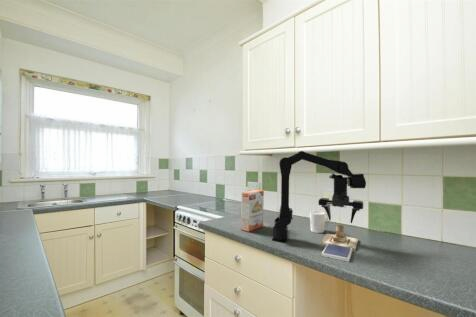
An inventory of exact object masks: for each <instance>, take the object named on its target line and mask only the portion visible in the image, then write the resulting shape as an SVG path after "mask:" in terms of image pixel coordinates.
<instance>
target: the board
mask: <svg viewBox="0 0 476 317" xmlns="http://www.w3.org/2000/svg"><path fill="white" fill-rule="evenodd" d="M334 235H335V234H332V233H326V234H325V236H324V237H323V238H322V240H321V242H320V245H321V246H323V245H324V246H326V245H327V244H333V245H338V246H343V247H349V248H352V251H356V250H357V247H358V246H357V245H358V242H359V239H358V238H355V237H349V236H346V241H345V243H342V242H337V241H334V240H333V236H334Z"/></svg>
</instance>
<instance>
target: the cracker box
mask: <svg viewBox="0 0 476 317" xmlns="http://www.w3.org/2000/svg"><path fill="white" fill-rule="evenodd" d="M264 193H265V191H264V190H261V189H254V190H249V191H243V192H242V191H241V205H240V206H241V209H240V210H241V212H240V213H241V216H240V220H241V222H240V223H241V224H240V225H241V226H240V227H241V228H240V230H241V231H244V232H248V233H249V232H252V231H255V230H257V229H259V228H262V227H264V199H265V198H264V196H265V195H264Z"/></svg>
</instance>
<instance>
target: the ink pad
mask: <svg viewBox="0 0 476 317" xmlns="http://www.w3.org/2000/svg"><path fill="white" fill-rule="evenodd" d="M352 254H353V250H352V248H349V247H343V246H338V245H333V244H327V245H325V247H324V249H323V250H322V252H321V257H324V258H328V257H329V259H333V260H339V261H342V262H350V260H351V256H352Z"/></svg>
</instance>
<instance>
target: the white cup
mask: <svg viewBox="0 0 476 317" xmlns="http://www.w3.org/2000/svg"><path fill="white" fill-rule="evenodd" d="M325 220H326V212H324V211H320V210H311V211H309V223H310V224H309V225H310V231H311V232H312V233H316V234H323V233H324V231H325V223H326V221H325Z"/></svg>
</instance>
